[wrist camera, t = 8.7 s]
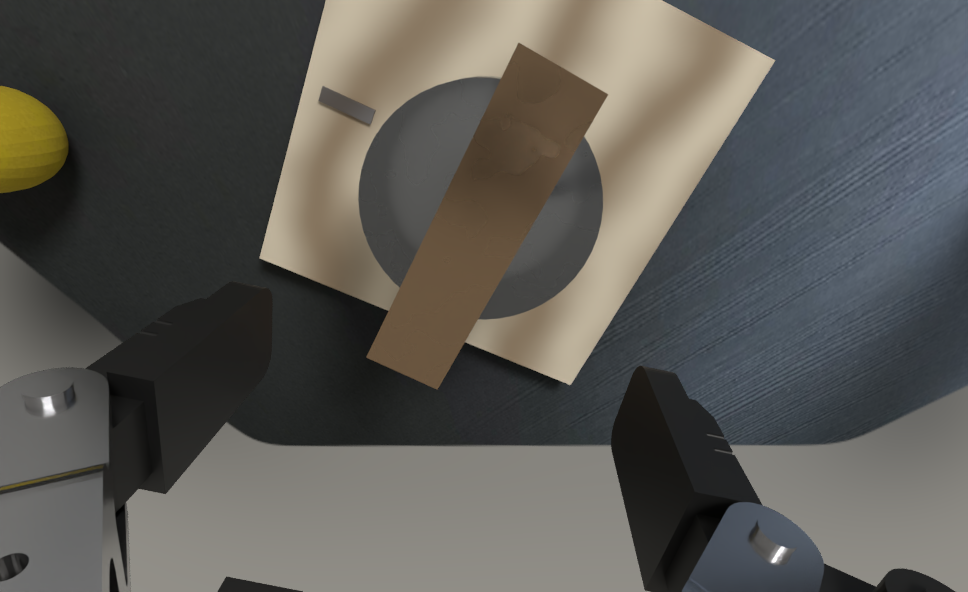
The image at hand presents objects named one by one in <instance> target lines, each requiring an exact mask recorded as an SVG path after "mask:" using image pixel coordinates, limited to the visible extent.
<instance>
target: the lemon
mask: <svg viewBox="0 0 968 592" xmlns="http://www.w3.org/2000/svg"><path fill="white" fill-rule="evenodd" d="M67 155H68V139H67V134H66V132H65V130H64V127H63V125H62V124H61V122H60V121H59V119H58V118H57V116H56V115H55V114H54V113H53V112H52V111H51V110H50V109H49V108H48V107H47V106H45V105H44V104H42V103H41V102H40V101H38V100H37V99H35V98H33V97H32V96H30V95H27V94H25V93H23V92H21V91H18V90H16V89H12V88H8V87H4V86H0V193H5V192H12V191H18V190H23V189H28V188H31V187H34V186H37V185H39V184H41V183H43V182H44V181H46V180H48V179H50V178H51V177H53V176H54V175H55V174H56V173H57V172H58V171H59V170H60V169H61V167H62V166H63V165H64V163H65V160H66V158H67Z"/></svg>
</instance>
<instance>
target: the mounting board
mask: <svg viewBox="0 0 968 592" xmlns="http://www.w3.org/2000/svg"><path fill="white" fill-rule="evenodd" d="M518 43H521V44H522V45H524V46H526V47H528V48H529V49H531V50H533V51H534V52H536V53H538V54H540V55H541V56H543V57H545V58H547V59H548V60H550V61H552V62H553V63H555V64H557V65H559V66H560V67H562V68H564V69H565V70H567V71H569V72H571V73H572V74H574V75H576V76H578V77H579V78H581V79H583V80H584V81H586V82H588V83H590V84H591V85H593V86H595V87H597V88H598V89H600V90H602V91H603V92H605V93H607V94H608V96H607V98H606V99H605V101H604V103H603V105H602V106H601V108H600V110H599V111H598V113H597V115H596V117H595V118H594V120H593V122H592V123H591V125H590V127H589V129H588V130H587V132H586V134H585V136H584V137H585V139H586V140H587V142H588V143H589V145H590V148H591V150H592V152H593V154H594V156H595V159H596V162H597V165H598V169H599V172H600V176H601V182H602V189H603V212H602V221H601V226H600V230H599V234H598V237H597V240H596V243H595V245H594V248H593V250H592V252H591V254H590V256H589V258H588V260H587V261H586V263H585V265H584V266H583V268H582V269H581V270H580V272H579V273H578V274H577V276H576V277H575V278H574V279H573V280H572V281H571V282H570V283H569V284H568V285H567V286H566V287H565V288H564V289H563V290H562V291H561V292H559V293H558V294H557V295H556V296H554V297H553V298H552V299H550V300H548V301H547V302H545V303H543V304H542V305H540V306H538V307H536V308H534V309H531V310H529V311H527V312H524V313H521V314H518V315H514V316H510V317H505V318H500V319H487V320H483V319H478V320H477V322H476V324H475V325H474V327H473V329H472V331H471V332H470V334H469V336H468V338H467V339H466V341H465V342H466V343H468V344H471V345H473V346H476V347H478V348H481V349H483V350H485V351H488V352H490V353H493V354H495V355H498V356H500V357H503V358H505V359H508V360H510V361H512V362H515V363H517V364H520V365H522V366H525V367H527V368H530V369H532V370H534V371H537V372H539V373H542V374H544V375H547V376H549V377H552V378H554V379H556V380H559V381H561V382H564V383H566V384H569V385H571V384H572V382H573V380H574V379H575V377H576V376H577V374H578V372H579V371H580V369H581V368H582V366H583V364H584V363H585V361H586V360H587V358H588V357H589V355H590V353H591V352H592V350H593V349H594V347H595V345H596V344H597V342H598V341H599V339H600V338H601V336H602V334H603V333H604V331H605V330H606V328H607V326H608V325H609V323H610V322H611V320H612V319H613V317H614V315H615V314H616V312H617V311H618V309H619V307H620V306H621V304H622V303H623V301H624V299H625V298H626V296H627V295H628V293H629V292H630V290H631V288H632V287H633V285H634V284H635V282H636V280H637V279H638V277H639V276H640V274H641V273H642V271H643V269H644V268H645V266H646V265H647V263H648V261H649V260H650V258H651V257H652V255H653V254H654V252H655V250H656V249H657V247H658V246H659V244H660V242H661V241H662V239H663V238H664V236H665V234H666V233H667V231H668V230H669V228H670V227H671V225H672V223H673V222H674V220H675V219H676V217H677V215H678V214H679V212H680V211H681V209H682V208H683V206H684V204H685V203H686V201H687V200H688V198H689V196H690V195H691V193H692V192H693V190H694V189H695V187H696V185H697V184H698V182H699V181H700V179H701V177H702V176H703V174H704V173H705V171H706V170H707V168H708V166H709V165H710V163H711V162H712V160H713V158H714V157H715V155H716V154H717V152H718V150H719V149H720V147H721V146H722V144H723V143H724V141H725V139H726V138H727V136H728V135H729V133H730V131H731V130H732V128H733V127H734V125H735V124H736V122H737V120H738V119H739V117H740V116H741V114H742V112H743V111H744V109H745V108H746V106H747V105H748V103H749V101H750V100H751V98H752V97H753V95H754V93H755V92H756V90H757V89H758V87H759V85H760V84H761V82H762V81H763V79H764V78H765V76H766V74H767V73H768V71H769V70H770V68H771V66H772V65H773V63H774V62H775V60H773V59H772V58H770V57H768V56H766V55H764V54H762V53H760V52H758V51H756V50H755V49H753V48H751V47H749V46H747V45H745V44H743V43H741V42H739V41H738V40H736V39H734V38H732V37H730V36H728V35H726V34H724V33H722V32H720V31H719V30H717V29H715V28H713V27H711V26H709V25H707V24H705V23H703V22H702V21H700V20H698V19H696V18H694V17H692V16H690V15H688V14H686V13H685V12H683V11H681V10H679V9H677V8H675V7H673V6H671V5H669V4H667V3H666V2H664V1H662V0H326V2H325V6H324V10H323V14H322V18H321V21H320V25H319V29H318V33H317V37H316V41H315V45H314V49H313V52H312V56H311V60H310V64H309V68H308V72H307V76H306V80H305V84H304V87H303V91H302V95H301V99H300V103H299V107H298V111H297V115H296V118H295V122H294V126H293V130H292V134H291V138H290V142H289V146H288V149H287V153H286V157H285V161H284V165H283V169H282V173H281V177H280V180H279V184H278V188H277V192H276V196H275V200H274V204H273V208H272V212H271V215H270V219H269V223H268V227H267V231H266V235H265V239H264V243H263V246H262V250H261V254H260V259H263V260H265V261H268V262H270V263H272V264H275V265H277V266H280V267H282V268H285V269H287V270H290V271H292V272H295V273H297V274H299V275H302V276H304V277H307V278H309V279H312V280H314V281H317V282H319V283H321V284H324V285H326V286H329V287H331V288H334V289H336V290H339V291H341V292H343V293H346V294H348V295H351V296H353V297H356V298H358V299H361V300H363V301H366V302H368V303H370V304H373V305H375V306H378V307H380V308H383V309H385V310H388V311H389V309H390V307H391V305H392V303H393V301H394V299H395V297H396V295H397V293H398V291H399V289H400V288H399V287H398V286H397V285H396V284H395V283H394V282H393V281H392V280H391V279H390V277H389V276H388V275H387V274H386V273H385V272H384V271H383V269H382V268H381V266H380V265H379V263H378V262H377V260H376V259H375V257H374V255H373V253H372V251H371V249H370V247H369V245H368V243H367V240H366V237H365V234H364V232H363V228H362V223H361V219H360V213H359V202H358V195H359V181H360V175H361V169H362V166H363V163H364V160H365V156H366V153H367V151H368V149H369V147H370V145H371V143H372V141H373V139H374V137H375V136H376V134H377V133H378V131H379V130H380V128H381V127H382V125H383V124H384V123H385V122H386V120H387V119H388V118H389V117H390V116H391V115H392V114H393V113H394V112H395V111H396V110H397V109H398V108H399V107H401V106H402V105H403V104H404V103H405V102H407V101H408V100H410V99H411V98H413V97H414V96H416V95H418V94H419V93H421V92H423V91H425V90H427V89H430V88H432V87H434V86H437V85H440V84H443V83H447V82H451V81H454V80H458V79H462V78H467V77H475V76H495V77H501V78H502V76H503V74H504V71H505V69H506V67H507V65H508V63H509V61H510V59H511V57H512V55H513V53H514V51H515V49H516V47H517V45H518Z"/></svg>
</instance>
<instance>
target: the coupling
mask: <svg viewBox="0 0 968 592" xmlns="http://www.w3.org/2000/svg"><path fill="white" fill-rule="evenodd" d="M607 96H608V94H607V93H605V92H603V91H602V90H600V89H598V88H597V87H595V86H593V85H591V84H590V83H588V82H586V81H584V80H583V79H581V78H579V77H578V76H576V75H574V74H572V73H571V72H569V71H567V70H565V69H564V68H562V67H560V66H559V65H557V64H555V63H553V62H552V61H550V60H548V59H547V58H545V57H543V56H541V55H540V54H538V53H536V52H534V51H533V50H531V49H529V48H528V47H526V46H524V45H522V44H521V43H518V45H517V47H516V49H515V51H514V53H513V55H512V57H511V59H510V61H509V63H508V65H507V67H506V69H505V71H504V74H503V76H502V78H501V77H495V76H475V77H467V78H462V79H458V80H454V81H451V82H447V83H443V84H440V85H437V86H434V87H432V88H430V89H427V90H425V91H423V92H421V93H419V94H418V95H416V96H414V97H413V98H411V99H410V100H408V101H407V102H405V103H404V104H403V105H402V106H401V107H399V108H398V109H397V110H396V111H395V112H394V113H393V114H392V115H391V116H390V117H389V118H388V119H387V120H386V122H385V123H384V124H383V125H382V127H381V128H380V130H379V131H378V133H377V134H376V136H375V137H374V139H373V141H372V143H371V145H370V147H369V149H368V151H367V153H366V156H365V160H364V163H363V166H362V169H361V175H360V181H359V195H358V202H359V213H360V219H361V223H362V228H363V232H364V234H365V237H366V240H367V243H368V245H369V247H370V249H371V251H372V253H373V255H374V257H375V259H376V260H377V262H378V263H379V265H380V266H381V268H382V269H383V271H384V272H385V273H386V274H387V275H388V276H389V277H390V279H391V280H392V281H393V282H394V283H395V284H396V285H397V286H398V287H399V288H400V289H399V291H398V293H397V295H396V297H395V299H394V301H393V303H392V305H391V307H390V309H389V311H388V313H387V315H386V317H385V320H384V322H383V324H382V326H381V328H380V330H379V332H378V334H377V336H376V338H375V340H374V342H373V344H372V346H371V348H370V351H369V353H368V355H367V357H366V358H368V359H371V360H373V361H375V362H377V363H380V364H382V365H384V366H386V367H388V368H391V369H393V370H395V371H397V372H400V373H402V374H404V375H406V376H408V377H411V378H413V379H415V380H417V381H419V382H422V383H424V384H426V385H428V386H431V387H433V388H435V389H438V388H439V386H440V384H441V382H442V381H443V379H444V377H445V375H446V374H447V372H448V370H449V369H450V367H451V365H452V363H453V362H454V360H455V358H456V357H457V355H458V353H459V351H460V350H461V348H462V346H463V344H464V343H465V341H466V339H467V338H468V336H469V334H470V332H471V331H472V329H473V327H474V325H475V324H476V322H477V320H478V319H483V320H487V319H500V318H505V317H510V316H514V315H518V314H521V313H524V312H527V311H529V310H531V309H534V308H536V307H538V306H540V305H542V304H543V303H545V302H547V301H548V300H550V299H552V298H553V297H554V296H556V295H557V294H558V293H559V292H561V291H562V290H563V289H564V288H565V287H566V286H567V285H568V284H569V283H570V282H571V281H572V280H573V279H574V278H575V277H576V276H577V274H578V273H579V272H580V270H581V269H582V268H583V266H584V265H585V263H586V261H587V260H588V258H589V256H590V254H591V252H592V250H593V248H594V245H595V243H596V240H597V237H598V234H599V230H600V226H601V221H602V212H603V189H602V182H601V176H600V172H599V169H598V165H597V162H596V159H595V156H594V154H593V152H592V150H591V148H590V145H589V143H588V142H587V140H586V139H585V137H584V136H585V134H586V132H587V130H588V129H589V127H590V125H591V123H592V122H593V120H594V118H595V117H596V115H597V113H598V111H599V110H600V108H601V106H602V105H603V103H604V101H605V99H606V98H607Z"/></svg>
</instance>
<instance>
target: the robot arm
mask: <svg viewBox="0 0 968 592" xmlns="http://www.w3.org/2000/svg"><path fill="white" fill-rule="evenodd" d="M271 352H272V294H271V291H270V290H269V289H268V288H263V287H258V286H253V285H249V284H244V283H239V282H233V281H232V282H229V283H228V284H226V285H225V286H223V287H222V288H221V289H219V290H218V291H217V292H215V293H214V294H212V295H211V296H210V297H208V298H207V299H202V298H200V299H197V300H194V301H191V302H188V303H185V304H182V305H180V306H177V307H174V308H173V309H172V310H170V311H169V312H167V313H166V314H164V315H163V316H161V317H160V318H158V319H157V321H156V323H155V322H153V323H151V324H150V325H148V326H147V327H145V328H144V329H142V330H141V333H137V334H135V335H134V336H132V337H131V338H129V339H128V340H126V341H125V342H123V343H122V344H120V345H119V346H118V347H116V348H115V349H114V350H112V351H110V352H109V353H107V354H106V355H104V356H103V357H102V358H100V359H99V360H97V361H96V362H94V363H93V364H91V365H90V366H88V367H87V368H85V369H84V368H73V367H72V368H55V369H48V370H43V371H38V372H34V373H31V374H27V375H24V376H21V377H19V378H17V379H14V380H12V381H10V382H8V383H6V384H4V385H3V386H1V387H0V592H131V582H130V557H129V531H128V511H127V504H126V501H127V500H128V499H129V498H130V497H131V496H132V495H133V494H134V493H135V492H136V490H137V489H144V490H148V491H153V492H158V493H163V494H166V493H167V492H168V490H169V489H170V488H171V487H172V486H173V485H174V483H175V482H176V481H177V480H178V479H179V478H180V476H181V475H182V474H183V472H185V470H186V469H187V468H188V467H189V466H190V464H191V463H192V462H193V461H194V460H195V458H196V457H197V456H198V455H199V454H200V452H201V451H202V450H203V449H204V448H205V447H206V445H207V444H208V443H209V442H210V441H211V439H212V438H213V437H214V436H215V435H216V433H217V432H218V431H219V430H220V429H221V427H222V426H223V425H224V424H225V423H226V422H227V420H228V419H229V418H230V417H231V416H232V414H233V413H234V412H235V411H236V410H237V408H238V407H239V406H240V405H241V404H242V402H243V401H244V400H245V399H246V398H247V396H248V395H249V394H250V393H251V392H252V391H253V389H254V388H255V387H256V386H257V385H258V383H259V382H260V381H261V380H262V378H263V377H264V375H265V373H266V371H267V369H268V366H269V363H270V359H271ZM611 447H612V453H613V458H614V462H615V466H616V470H617V475H618V479H619V483H620V487H621V492H622V496H623V500H624V504H625V508H626V512H627V517H628V521H629V525H630V529H631V534H632V538H633V542H634V546H635V551H636V555H637V559H638V563H639V567H640V572H641V576H642V580H643V584H644V589H645V590H646V591H651V592H955V591H953V590H952V589H950V588H949V587H947V586H946V585H944V584H942V583H940V582H939V581H937V580H935V579H933V578H931V577H929V576H926V575H924V574H922V573H919V572H916V571H913V570H908V569H893V570H891V571H889V572H888V573H887V574H886V576H885V577H884V578H883V579H882V580H881V582H880V583H879V584H878V585H877V587H875V586H873V585H871V584H868V583H866V582H864V581H862V580H860V579H857V578H855V577H853V576H851V575H848V574H846V573H844V572H842V571H839V570H837V569H835V568H832V567H830V566H828V565H826V564H824V562H823V558H822V556H821V553H820V552H819V550H818V548H817V547H816V545H815V544H814V542H813V541H812V540H811V539H810V537H808V535H807V534H806V533H805V532H804V531H803V530H802V529H801V528H799V527H798V526H797V525H796V524H794V523H793V522H792V521H791V520H789V519H788V518H786V517H785V516H783V515H782V514H780V513H778V512H776V511H775V510H772V509H770V508H768V507H765V506H763V505H762V504H761V502H760V500H759V498H758V496H757V495H756V493H755V491H754V489H753V487H752V486H751V484H750V482H749V480H748V478H747V476H746V475H745V473H744V471H743V469H742V467H741V466H740V464H739V462H738V460H737V458H736V457H735V455H732V449H731V448H730V446H729V444H728V442H727V440H725V439H724V435H723V433H722V431H721V429H720V428H719V426H718V424H717V422H716V420H715V419H714V417H713V416H712V415H711V414H710V413H709V412H707V411H706V410H705V409H704V408H703V407H702V406H701V405H700V404H699V403H698V402H697V401H696V400H692V399H689V398H688V396H687V394H686V392H685V390H684V388H683V386H682V384H681V382H680V380H679V378H678V376H677V375H676V374H675V373H673V372H668V371H663V370H658V369H654V368H649V367H644V366H639V367H637V368H636V370H635V371H634V373H633V375H632V378H631V380H630V383H629V386H628V388H627V391H626V393H625V396H624V399H623V401H622V404H621V406H620V409H619V412H618V414H617V417H616V419H615V422H614V426H613V430H612V438H611ZM218 592H303V591H297V590H292V589H287V588H282V587H277V586H272V585H267V584H262V583H256V582H251V581H246V580H241V579H236V578H231V577H226V578H225V580H224V582H223V583H222V585H221V587H220V588H219V590H218Z"/></svg>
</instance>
